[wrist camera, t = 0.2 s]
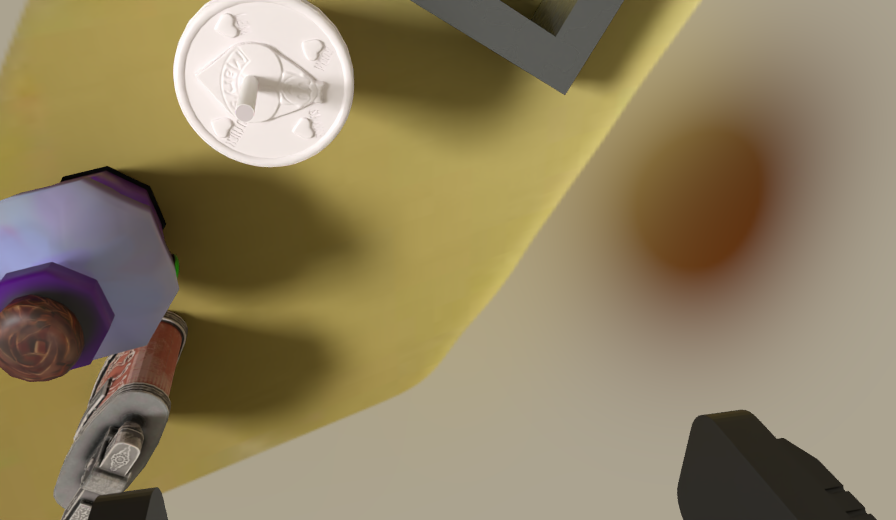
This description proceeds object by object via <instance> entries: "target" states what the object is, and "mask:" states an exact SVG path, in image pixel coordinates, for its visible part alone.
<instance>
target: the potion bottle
mask: <svg viewBox="0 0 896 520" xmlns="http://www.w3.org/2000/svg"><path fill="white" fill-rule="evenodd" d="M165 225H166V223H165V220H164V218H163V216H162V213H161V211H160V209H159V206H158V204H157V202H156V199H155V197H154V195H153V192H152V190H151V188H150V186H148V185H146V184H144V183H141V182H139V181H137V180H135V179H133V178H131V177H129V176H127V175H125V174H122V173H120V172H118V171H116V170H114V169H112V168H110V167H108V166H106V167H102V168H98V169H93V170H89V171H85V172H81V173H77V174H73V175H69V176H64V177H63V178H62V180H61V182H60V183H57V184H55V185H52V186H48V187H44V188H40V189H35V190H31V191H27V192H22V193H19V194H17V195H14V196H12V197H9V198H6V199H4V200H1V201H0V367H1V368H2V369H3V370H4V371H5V372H7V373H8V374H9V375H10V376H12V377H15V378H18V379H22V380H25V381H29V382H36V381H49V380H52V379H55V378H58V377H61V376H63V375H65V374H66V373H68V371H69V370H71V369H75V368H79V367H82V366H86V365H90V364H91V362H92V360H94V359H98V358H102V357H105V356H109V355H113V354H117V353H120V352H124V351H128V350H131V349H135V348H139V347H143V346H146V345H147V344H148V343H149V341H150V339H151V337H152V336H153V334H154V332H155V330H156V329H157V327H158V325H159V323H160V322H161V320H162V318H163V316H164V315H165V313H166V311H167V309H168V308H169V306H170V304H171V303H172V301H173V299H174V297H175V296H176V294H177V292H178V290H179V286H178V281H177V279H178V275H179V260H178V257H177V256H176V255H175V254H171V253H170V251H169V249H168V247H167V244H166V242H165V240H164V235H163V229H164V227H165Z"/></svg>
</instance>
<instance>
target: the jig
mask: <svg viewBox="0 0 896 520" xmlns="http://www.w3.org/2000/svg"><path fill="white" fill-rule="evenodd" d="M411 1H412V2H414V3H416V4H417V5H419V6H420V7H422V8H424V9H425V10H427V11H429V12H430V13H432V14H433V15H435V16H437V17H438V18H440V19H442V20H443V21H445V22H447V23H448V24H450V25H451V26H453V27H455V28H456V29H458V30H460V31H461V32H463V33H464V34H466V35H468V36H469V37H471V38H473V39H474V40H476V41H478V42H479V43H481V44H482V45H484V46H486V47H487V48H489V49H491V50H492V51H494V52H495V53H497V54H499V55H500V56H502V57H504V58H505V59H507V60H509V61H510V62H512V63H513V64H515V65H517V66H518V67H520V68H522V69H523V70H525V71H526V72H528V73H530V74H531V75H533V76H535V77H536V78H538V79H540V80H541V81H543V82H544V83H546V84H548V85H549V86H551V87H553V88H554V89H556V90H557V91H559V92H561V93H562V94H564V95H565V94H566V93H567V91H568V89H569V88H570V86H571V85H572V83H573V81H574V80H575V78H576V77H577V75H578V73H579V72H580V70H581V69H582V67H583V65H584V64H585V62H586V61H587V59H588V57H589V56H590V54H591V53H592V51H593V49H594V48H595V46H596V45H597V43H598V41H599V40H600V38H601V37H602V35H603V33H604V32H605V30H606V29H607V27H608V25H609V24H610V22H611V21H612V19H613V17H614V16H615V14H616V13H617V11H618V9H619V8H620V6H621V5H622V3H623V1H624V0H543V1H542V2H541V4H540V6H539V7H538V9H537V11H536V13H535V14H534V16H533V18H532V19H531V20H529V19H528V18H526V17H524V16H523V15H521V14H520V13H518V12H517V11H515V10H514V9H512V8H511V7H509V6H508V5H506V4H505V3H503V2H502V1H500V0H411Z"/></svg>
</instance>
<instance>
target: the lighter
mask: <svg viewBox="0 0 896 520" xmlns="http://www.w3.org/2000/svg"><path fill="white" fill-rule="evenodd" d="M187 331H188V328H187V325H186V322H185V321H184V320H183V319H182V318H181V317H180V316H178V315H177V314H175V313H173V312H170V311H166V313H165V315H164V316H163V318H162V320H161V322H160V323H159V325H158V327H157V329H156V330H155V332H154V334H153V336H152V337H151V339H150V341H149V343H148V344H147V345H146V346H143V347H139V348H135V349H131V350H128V351H124V352H120V353H117V354H113V355H109V356H108V358H107V360H106V361H105V363H104V365H103V367H102V369H101V371H100V373H99V375H98V377H97V380H96V382H95V385H94V388H93V391H92V394H91V397H90V400H89V403H88V408H87V410H86V411H85V413H84V415H83V417H82V419H81V421H80V424H79V426H78V429H77V431H76V434H75V436H74V443H73V444H72V446H71V448H70V450H69V452H68V454H67V456H66V458H65V460H64V463H63V465H62V468H61V471H60V474H59V477H58V480H57V483H56V486H55V489H54V498H55V500H56V502H57V503H58V504H59V505H60V506H62V507H63V508H65V511H64V514H63V516H62V519H61V520H88V517H89V514H90V511H91V507H92V505H93V502H94V501H95V499H96V498H97V496H99V495H104V494H112V493H119V492H124V491H125V490H126V489H127V488H128V486H129V485H130V484H131V483H132V482H133V480H134V479H135V478H136V477H137V476H138V474H139V473H140V472H141V471H142V470H143V468H144V467H145V466H146V464H147V462H148V460H149V459H150V457H151V455H152V453H153V452H154V450H155V448H156V447H157V445H158V443H159V441H160V438H161V436H162V433H163V431H164V428H165V426H166V423H167V421H168V417H169V413H170V408H171V401H170V399H169V394H170V389H171V385H172V381H173V377H174V372H175V368H176V365H177V363H178V360H179V357H180V355H181V352H182V350H183V347H184V345H185V342H186V337H187Z"/></svg>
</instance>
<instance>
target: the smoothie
mask: <svg viewBox="0 0 896 520" xmlns="http://www.w3.org/2000/svg"><path fill="white" fill-rule="evenodd" d="M173 73H174V85H175V91H176V95H177V99H178V102H179V104H180V107H181V109H182V111H183V114H184V115H185V117H186V119H187V120H188V122H189V124H190V125H191V126H192V128H193V129H194V130H195V131H196V133H197V134H198V135H199V136H200V137H201V138H202V139H203V140H204V141H205V142H206V143H207V144H209V145H210V146H211V147H212V148H214V149H215V150H217V151H218V152H220V153H221V154H223V155H225V156H227V157H229V158H231V159H233V160H236V161H239V162H242V163H245V164H249V165H254V166H261V167H279V166H287V165H291V164H295V163H298V162H301V161H304V160H306V159H308V158H310V157H312V156H314V155H316V154H317V153H319V152H320V151H322V150H323V149H324V148H325V147H326V146H328V145H329V144H330V143H331V142H332V141H333V140H334V138H335V137H336V136H337V135H338V133H339V132H340V130H341V129H342V127H343V126H344V124H345V122H346V120H347V117H348V115H349V112H350V109H351V106H352V101H353V94H354V70H353V65H352V62H351V58H350V54H349V50H348V47H347V45H346V43H345V41H344V40H343V38H342V36H341V34H340V32H339V31H338V29H337V27H336V26H335V25H334V24H333V23H332V21H331V20H330V19H329V18H328V17H327V16H326V15H325V14H324V13H323V12H322V11H321V10H320V9H319V8H318V7H316V6H314V5H313V4H311V3H310V2H308V1H307V0H211V1H209V2H208V3H206V4H205V5H204V6H203V7H202V8H201V9H200V10H199V11H198V12H197V13H196V14H195V15H194V16H193V17H192V18H191V20H190V21H189V22H188V24H187V26H186V28H185V30H184V32H183V34H182V36H181V38H180V40H179V42H178V47H177V50H176V54H175V59H174V70H173Z"/></svg>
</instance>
